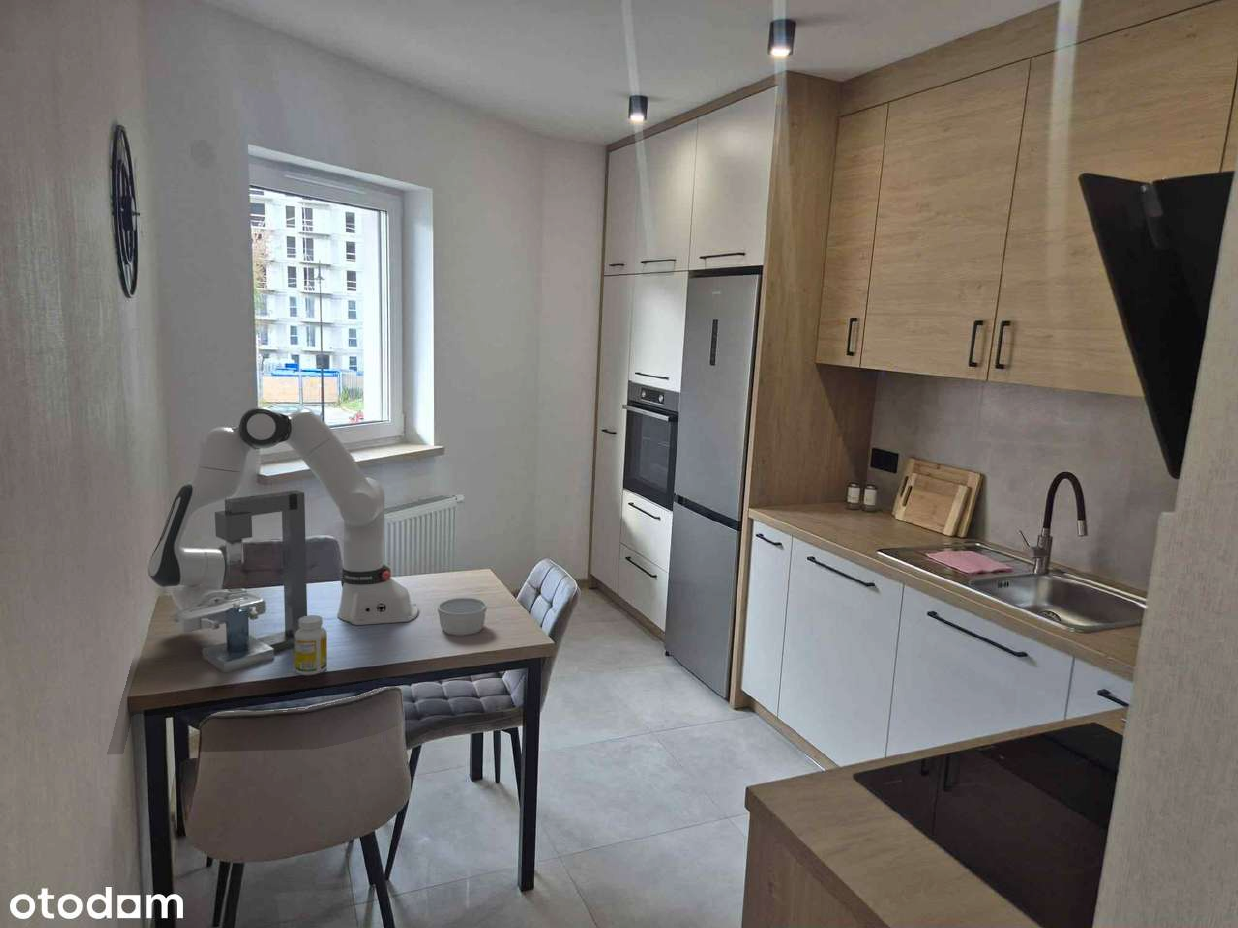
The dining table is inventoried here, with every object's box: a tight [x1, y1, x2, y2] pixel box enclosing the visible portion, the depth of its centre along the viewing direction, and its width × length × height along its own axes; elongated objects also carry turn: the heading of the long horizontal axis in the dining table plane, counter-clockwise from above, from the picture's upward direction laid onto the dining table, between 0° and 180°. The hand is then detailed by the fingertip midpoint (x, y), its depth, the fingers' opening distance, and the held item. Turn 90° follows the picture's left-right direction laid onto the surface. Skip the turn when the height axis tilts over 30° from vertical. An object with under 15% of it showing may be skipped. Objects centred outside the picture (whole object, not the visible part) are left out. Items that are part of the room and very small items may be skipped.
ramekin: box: [437, 597, 487, 637], centre depth 218 cm, size 13×13×7 cm
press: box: [202, 489, 308, 674], centre depth 194 cm, size 23×12×40 cm, turn 140°
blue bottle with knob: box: [225, 603, 250, 653], centre depth 192 cm, size 5×5×12 cm
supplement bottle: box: [294, 614, 328, 676], centre depth 188 cm, size 7×7×13 cm
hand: (236, 621), depth 192 cm, fingers open, 8 cm apart
